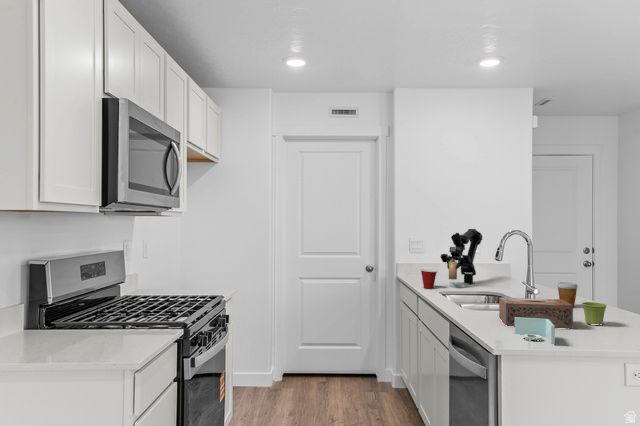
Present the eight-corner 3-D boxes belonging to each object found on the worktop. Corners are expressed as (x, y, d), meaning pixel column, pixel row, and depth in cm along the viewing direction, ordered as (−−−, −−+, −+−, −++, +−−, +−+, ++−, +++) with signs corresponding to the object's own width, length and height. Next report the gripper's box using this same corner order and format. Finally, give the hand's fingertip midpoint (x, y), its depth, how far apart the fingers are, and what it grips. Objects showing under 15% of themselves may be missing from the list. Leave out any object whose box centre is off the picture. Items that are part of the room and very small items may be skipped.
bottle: (451, 278, 305) (451, 258, 305) (458, 278, 301) (458, 258, 301) (447, 278, 301) (447, 258, 301) (454, 279, 298) (454, 259, 298)
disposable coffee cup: (577, 306, 242) (577, 282, 242) (578, 309, 233) (578, 285, 233) (556, 304, 246) (556, 281, 246) (557, 307, 237) (557, 284, 237)
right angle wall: (514, 336, 181) (514, 317, 181) (548, 339, 178) (548, 319, 178) (518, 344, 170) (518, 323, 170) (554, 347, 166) (554, 326, 166)
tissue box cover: (561, 322, 205) (561, 299, 205) (572, 330, 191) (572, 305, 191) (499, 319, 209) (499, 297, 210) (505, 327, 195) (505, 303, 195)
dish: (455, 284, 317) (455, 281, 317) (470, 286, 308) (470, 283, 309) (446, 286, 309) (446, 283, 309) (461, 288, 301) (461, 284, 301)
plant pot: (607, 328, 194) (606, 306, 194) (580, 325, 199) (580, 304, 199) (607, 323, 202) (607, 303, 202) (582, 321, 207) (582, 301, 207)
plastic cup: (439, 289, 295) (439, 270, 295) (422, 289, 295) (422, 270, 295) (435, 287, 306) (435, 268, 306) (418, 287, 306) (418, 268, 306)
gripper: (441, 241, 310) (434, 259, 301) (469, 242, 299) (462, 261, 290) (446, 252, 316) (439, 270, 307) (473, 254, 305) (467, 272, 296)
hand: (451, 268), depth 300 cm, fingers closed on bottle, 5 cm apart
